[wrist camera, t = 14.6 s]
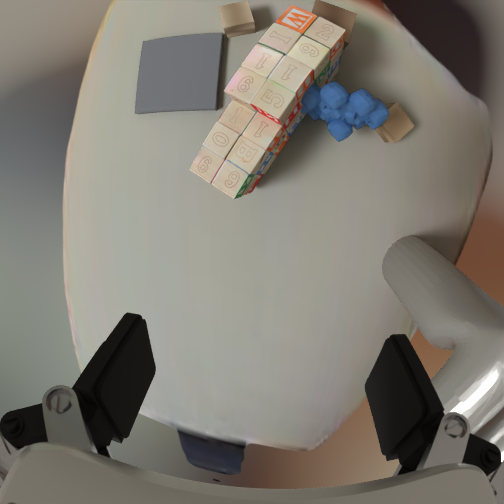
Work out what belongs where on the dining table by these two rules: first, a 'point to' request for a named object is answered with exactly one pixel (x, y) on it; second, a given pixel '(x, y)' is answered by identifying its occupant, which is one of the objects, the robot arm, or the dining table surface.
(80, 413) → the robot arm
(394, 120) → the oak cube
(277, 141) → the stack of blocks
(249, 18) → the maple cube
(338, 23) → the walnut block
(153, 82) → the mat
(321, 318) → the dining table surface
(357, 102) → the grapes
